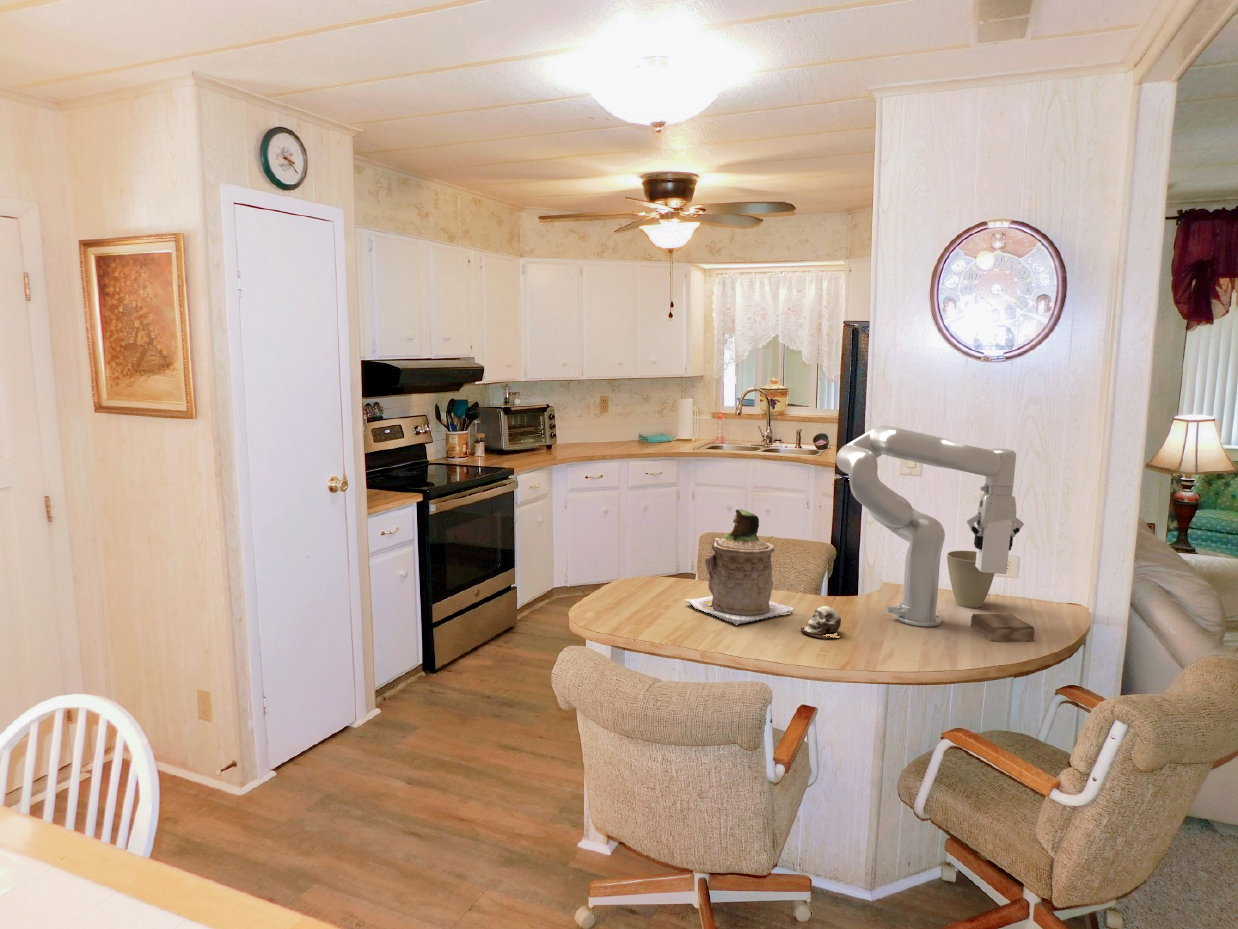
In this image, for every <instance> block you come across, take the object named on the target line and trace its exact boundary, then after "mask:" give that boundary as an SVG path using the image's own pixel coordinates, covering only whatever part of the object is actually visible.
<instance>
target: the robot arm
mask: <svg viewBox="0 0 1238 929" xmlns="http://www.w3.org/2000/svg"><path fill="white" fill-rule="evenodd" d="M835 456H836V457H835V464H836V466H837V467H838V469H839V470H841V472H843V473H845V474H848V475H849V487H850V491H851V494H852V495H853V497H854V499H855V500H856V501H857V502H859V503H860V504H861V505H862V506H863V507H865V508H866V509H867V510H868V512H869V515H870V516H871V517H872V518H873V519H874V520H876V521H877V522H878V523H879V524H880V525H882V526H883V527H885V528H886V529H888V530H889V531H891V533H893V534H895V535H896V536H898V537H899V538H901V539H903V540H904V541H905V542H908V543H909V545H908V549H907V551H906V555H905V561H904V576H903V592H902V593H903V596H902V602H899V605H896V606H893V605H892V606H891V605H890V606H889V605H888V606H886V607H885V612H886V614H892V613H893V615H895V616H896V617H895V618H896V619H897V620H898V621H899V622H902V623H903V624H907V625H910V626H916V627H924V628H925V627H936V626H939V625H941V624H942V617H940V616H939V615H938V614H937V608H938V606H937V605H938V595H939V581H940V580H939V578H940V565H941V564H940V563H941V554H942V550H943V546H944V542H945V536H946V535H945V529H944V527H943V525H942V523H941V521H939V520H938V519H936V518H934V517H933V516H931V515H929V514H925V513H923V512H920V511H918V510H916V509H915V508H914V507H913V506H912V504H911V503H910V502H909V501H908V500H907V499H906V498H905V497H904V496H902V495H900V494H898V493H897V492H896V491H894V490H892V489H891V488H890V487H888V486H887V485H886V484H884V483H883V482H882V481H881V479H879V475H878V460H877V458H879V457H881V456H888V457H891V458H894V459H895V458H896V459H900V460H904V461H909V462H913V463H914V462H915V463H918V464H923V465H928V466H930V467H931V466H932V467H937V468H944V469H950V470H956V471H961V472H964V473H970V474H974V475H978V476H982V477H985V483H984V485H983V486H980V492H983V493H982V494H981V497H980V500H979V503H978V507H977V513H976V515H974V516H973V517H970V518H969V519H967V521H966V523H967V525H968V527H969V529H970V531H971V532H972V533H973V534H974V541H973V545H974V547H975V549H976V550H977V549H979V550H981V549H982V543H983V536H982V534H983V532H984V529H985V528H986V529H988V523H991V522H997V521H1001V520H1008V519H1011V524H1012V525H1011V534H1010V543H1009V551H1012V547H1013V543H1014V538H1015V537H1016V535H1017V534H1018V533H1020V531H1021V529H1022V528H1023V527H1024V525H1025V523H1024V522H1023V521H1022V520H1020V518H1018V517H1017V501H1016V497H1015V495H1014V496H1013V490H1014V483H1015V482H1014V481H1015V472H1016V462H1017V453H1016V452H1015V450H1013V449H1010V448H1009V449H1008V448H992V449H990V448H983V447H977V446H972V445H968V444H964V443H959V442H957V441H956V442H955V441H952V440H950V439H947V438H943V437H940V436H936V435H932V434H926V433H924V432H923V433H922V432H918V431H914V430H909V429H904V428H899V427H894V426H891V425H890V426H889V425H880V426H876V427H874V428H872V429H871V430H869V431H866V432H865V433H864V434H861V435H860V436H859V437H856V438H855V439H854V440H852V441H850V442H848V443H846V444H845V445H843V446H842V447H841V448H840V449H839V450H838V451H837V453H836V455H835ZM975 523H976V526H977V527H976V526H975Z"/></svg>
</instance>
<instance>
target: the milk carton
mask: <svg viewBox="0 0 1238 929" xmlns="http://www.w3.org/2000/svg"><path fill="white" fill-rule="evenodd" d="M1011 525H1012V524H1011V519H1008V520H1001V521H997V522H991V523H988V529H986V528H985V529H984V532H983V534H982V536H983V543H982V549H981V550H979V549H977V548H976V551H977V554H976V564H975V566H976V567H977V568H978V570H979V571H980V572H986V573H995V574H1001V575H1007V571H1008V562H1009V552H1010V550H1009V543H1010V534H1011Z"/></svg>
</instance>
